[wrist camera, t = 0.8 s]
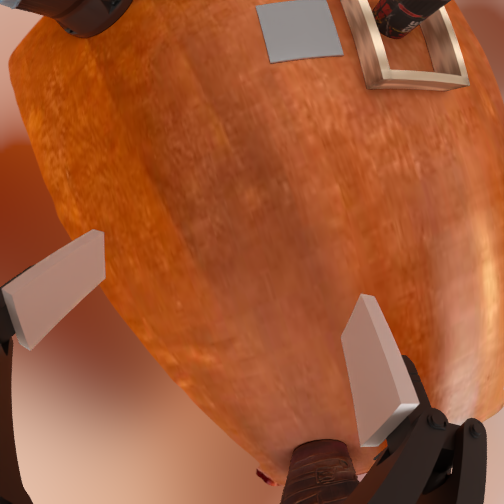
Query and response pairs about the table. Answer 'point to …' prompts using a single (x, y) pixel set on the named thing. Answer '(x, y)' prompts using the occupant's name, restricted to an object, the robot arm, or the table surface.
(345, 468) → the vase
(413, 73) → the bay
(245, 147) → the table surface
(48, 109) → the table surface
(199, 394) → the table surface
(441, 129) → the table surface
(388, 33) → the deodorant
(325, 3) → the mat
